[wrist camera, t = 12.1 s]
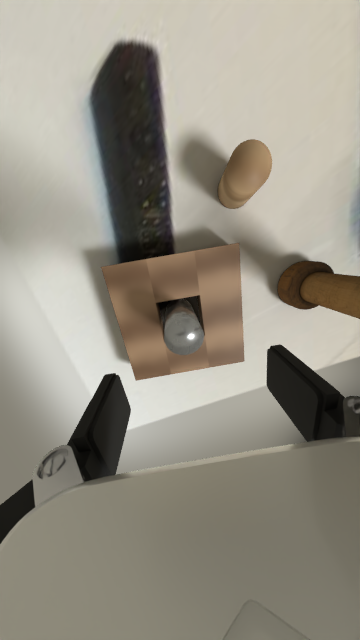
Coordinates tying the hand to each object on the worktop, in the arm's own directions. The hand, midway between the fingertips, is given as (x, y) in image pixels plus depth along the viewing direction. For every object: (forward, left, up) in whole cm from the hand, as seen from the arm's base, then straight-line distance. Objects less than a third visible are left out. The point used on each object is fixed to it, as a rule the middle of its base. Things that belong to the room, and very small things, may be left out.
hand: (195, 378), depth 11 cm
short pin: (-14, +9, -16) cm, 23 cm away
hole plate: (0, 0, -16) cm, 16 cm away
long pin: (0, 0, -16) cm, 16 cm away
